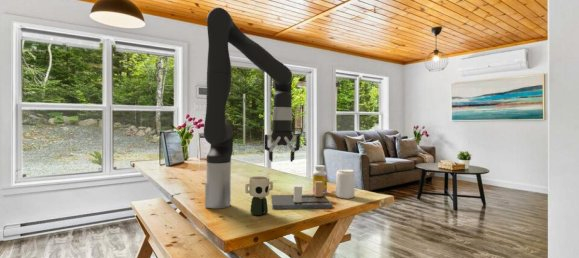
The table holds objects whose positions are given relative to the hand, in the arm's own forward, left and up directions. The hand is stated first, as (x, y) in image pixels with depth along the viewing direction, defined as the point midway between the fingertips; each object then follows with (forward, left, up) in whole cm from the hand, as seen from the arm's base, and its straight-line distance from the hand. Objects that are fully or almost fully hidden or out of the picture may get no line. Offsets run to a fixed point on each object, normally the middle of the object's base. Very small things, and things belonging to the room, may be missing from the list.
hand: (281, 161), depth 118 cm
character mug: (-8, -9, -18) cm, 22 cm away
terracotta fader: (+17, +9, -16) cm, 25 cm away
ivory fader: (+7, 0, -16) cm, 17 cm away
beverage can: (+30, +14, -18) cm, 37 cm away
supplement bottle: (+20, +22, -18) cm, 35 cm away
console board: (+8, +4, -18) cm, 20 cm away
